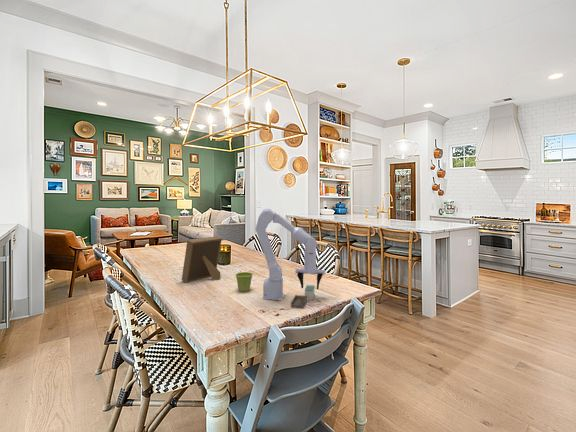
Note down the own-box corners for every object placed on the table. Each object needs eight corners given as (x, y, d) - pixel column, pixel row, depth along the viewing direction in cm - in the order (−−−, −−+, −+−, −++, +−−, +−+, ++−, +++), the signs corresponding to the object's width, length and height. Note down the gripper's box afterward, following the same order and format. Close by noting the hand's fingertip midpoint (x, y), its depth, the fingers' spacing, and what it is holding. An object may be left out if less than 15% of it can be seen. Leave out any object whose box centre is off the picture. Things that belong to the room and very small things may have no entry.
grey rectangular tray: (291, 307, 135) (291, 302, 135) (295, 299, 146) (295, 294, 146) (303, 308, 134) (303, 303, 134) (306, 300, 144) (306, 295, 144)
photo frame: (181, 281, 174) (181, 239, 173) (211, 273, 192) (211, 235, 190) (197, 286, 166) (197, 241, 164) (227, 278, 183) (227, 237, 182)
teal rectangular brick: (304, 299, 146) (304, 289, 145) (306, 294, 154) (306, 284, 153) (312, 300, 145) (313, 290, 145) (314, 295, 153) (314, 285, 152)
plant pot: (256, 290, 159) (256, 274, 159) (242, 294, 152) (242, 277, 152) (245, 286, 166) (245, 271, 165) (231, 290, 159) (231, 274, 158)
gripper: (294, 262, 146) (294, 289, 147) (324, 263, 143) (323, 291, 144) (296, 259, 153) (296, 285, 153) (325, 260, 150) (325, 287, 150)
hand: (310, 288), depth 149 cm, fingers open, 7 cm apart
